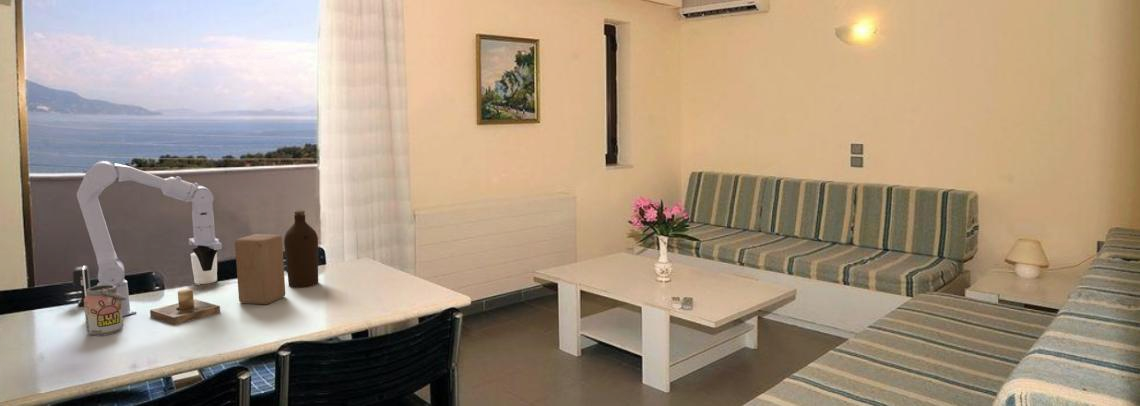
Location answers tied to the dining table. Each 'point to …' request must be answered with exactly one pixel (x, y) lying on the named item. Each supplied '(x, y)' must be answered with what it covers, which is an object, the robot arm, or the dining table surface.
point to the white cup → (201, 275)
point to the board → (184, 312)
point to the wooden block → (260, 268)
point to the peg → (185, 299)
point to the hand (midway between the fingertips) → (207, 270)
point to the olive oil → (301, 253)
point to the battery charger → (81, 281)
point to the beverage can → (103, 310)
